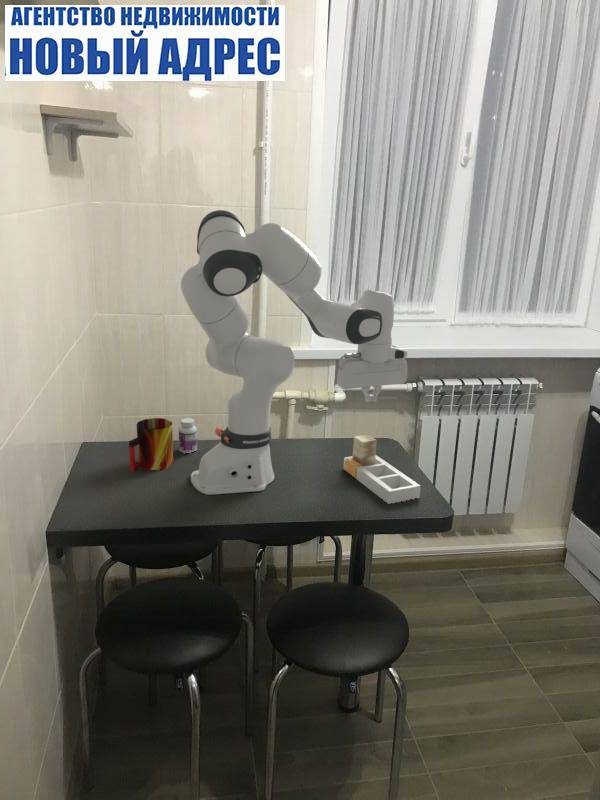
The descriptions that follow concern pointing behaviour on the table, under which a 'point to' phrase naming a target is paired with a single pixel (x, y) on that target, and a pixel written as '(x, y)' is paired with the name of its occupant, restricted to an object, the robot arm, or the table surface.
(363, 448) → the wooden block
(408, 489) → the rack
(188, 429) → the pill bottle
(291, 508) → the table surface
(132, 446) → the mug
